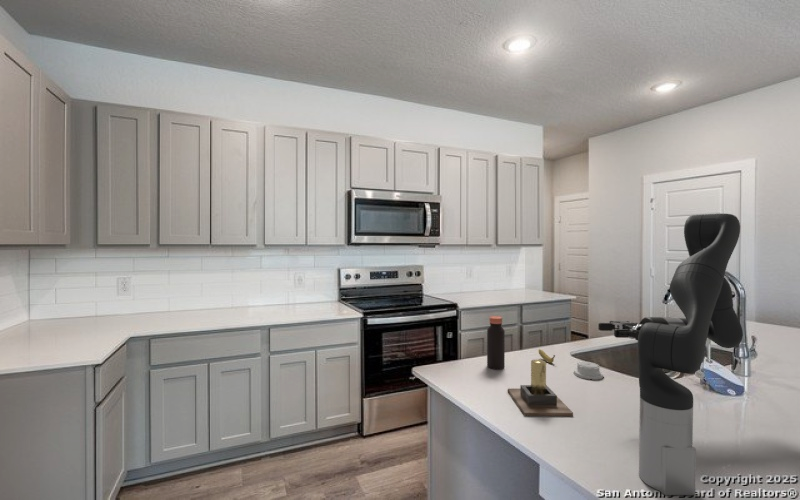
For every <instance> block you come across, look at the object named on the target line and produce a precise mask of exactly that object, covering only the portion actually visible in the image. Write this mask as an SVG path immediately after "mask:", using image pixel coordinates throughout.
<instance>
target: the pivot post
mask: <svg viewBox="0 0 800 500" xmlns="http://www.w3.org/2000/svg"><path fill="white" fill-rule="evenodd" d="M530 385H531V394H546V385H547V361H545V360H544V359H543V360H542V359H532V360H531V361H530Z"/></svg>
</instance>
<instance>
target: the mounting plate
mask: <svg viewBox="0 0 800 500" xmlns="http://www.w3.org/2000/svg"><path fill="white" fill-rule="evenodd" d="M507 393H508V394H509V395H510V396H509V397H511V398H512V400H513V402H514V403H515V404H516V406H517V407H518V408H519V411H521V412H522V414H523V416H524V417H573V416H574V412H573V411H572V410H571V409H570V407H568V405H566V404H565V403H564V402H563V400H561V399H560V398H559V397H558V395H557V394H556V393H555V392H554V391H553V390H552V389H551V388H550V387H549V386H548V385H547V384H546V394H531V384H526V385H525V384H520V388H507Z"/></svg>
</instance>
